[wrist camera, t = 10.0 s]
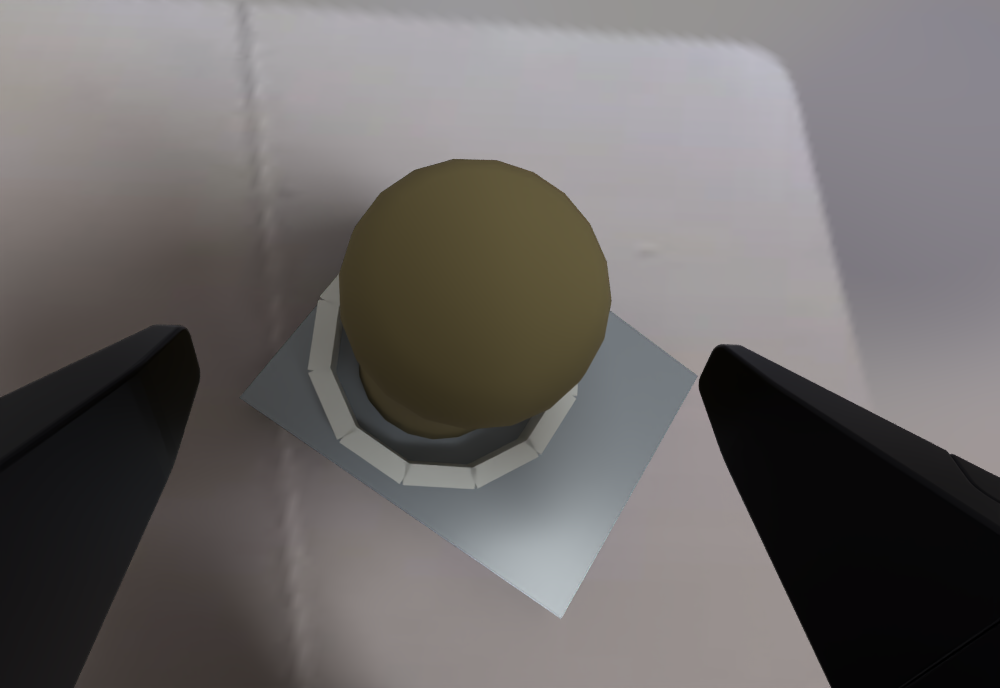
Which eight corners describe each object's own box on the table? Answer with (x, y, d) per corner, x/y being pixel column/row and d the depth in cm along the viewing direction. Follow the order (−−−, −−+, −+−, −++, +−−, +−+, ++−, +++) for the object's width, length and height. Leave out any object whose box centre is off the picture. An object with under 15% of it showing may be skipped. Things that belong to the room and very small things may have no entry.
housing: (249, 399, 18) (224, 394, 16) (425, 188, 21) (429, 154, 18) (551, 607, 19) (575, 636, 16) (681, 378, 22) (720, 372, 19)
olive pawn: (329, 401, 18) (219, 363, 7) (399, 257, 19) (397, 39, 8) (482, 464, 18) (597, 516, 8) (539, 320, 20) (704, 194, 9)
